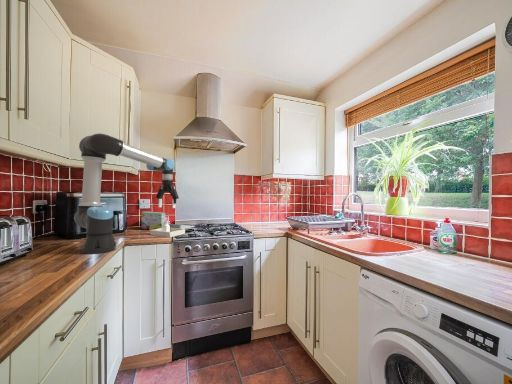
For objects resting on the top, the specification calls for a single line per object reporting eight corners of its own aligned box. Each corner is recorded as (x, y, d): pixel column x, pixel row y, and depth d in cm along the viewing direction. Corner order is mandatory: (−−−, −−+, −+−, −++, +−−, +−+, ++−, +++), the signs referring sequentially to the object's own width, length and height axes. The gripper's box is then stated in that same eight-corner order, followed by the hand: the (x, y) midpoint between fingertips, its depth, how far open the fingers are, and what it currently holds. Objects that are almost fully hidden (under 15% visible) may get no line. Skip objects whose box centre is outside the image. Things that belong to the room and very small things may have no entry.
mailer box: (170, 237, 160) (170, 232, 160) (149, 234, 168) (149, 230, 168) (184, 233, 175) (185, 229, 175) (165, 231, 183) (165, 227, 183)
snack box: (140, 229, 192) (141, 211, 192) (145, 228, 198) (146, 211, 198) (161, 230, 186) (161, 212, 186) (165, 229, 191) (166, 212, 192)
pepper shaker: (166, 233, 167) (166, 221, 167) (162, 233, 168) (162, 221, 169) (170, 233, 171) (170, 220, 171) (165, 232, 172) (165, 220, 172)
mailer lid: (181, 229, 172) (181, 225, 172) (162, 227, 179) (162, 223, 179) (194, 226, 186) (195, 223, 186) (176, 225, 194) (176, 221, 194)
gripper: (183, 180, 169) (183, 208, 169) (159, 180, 179) (158, 206, 178) (176, 179, 162) (176, 208, 162) (151, 179, 172) (150, 207, 171)
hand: (166, 207), depth 170 cm, fingers open, 13 cm apart
